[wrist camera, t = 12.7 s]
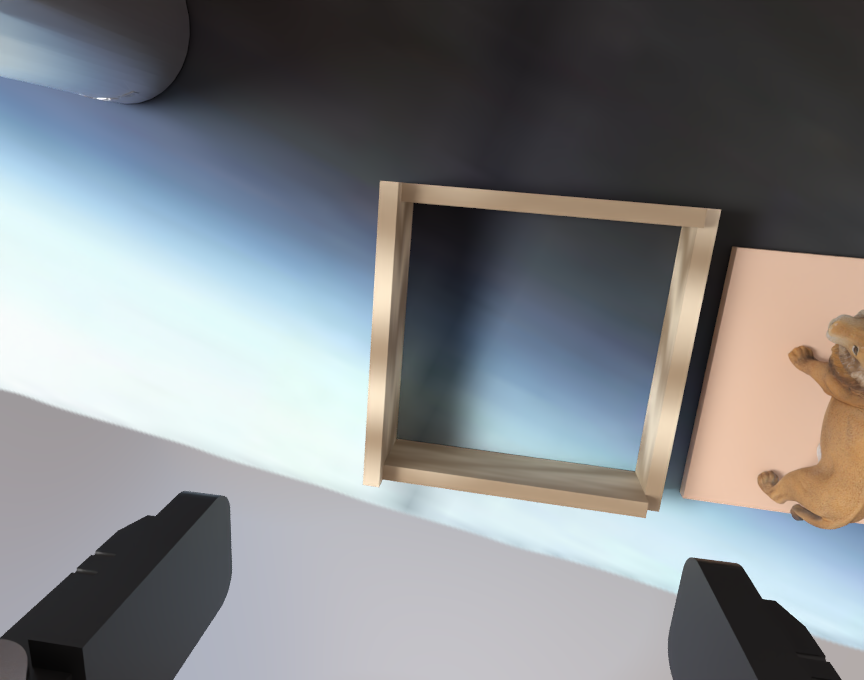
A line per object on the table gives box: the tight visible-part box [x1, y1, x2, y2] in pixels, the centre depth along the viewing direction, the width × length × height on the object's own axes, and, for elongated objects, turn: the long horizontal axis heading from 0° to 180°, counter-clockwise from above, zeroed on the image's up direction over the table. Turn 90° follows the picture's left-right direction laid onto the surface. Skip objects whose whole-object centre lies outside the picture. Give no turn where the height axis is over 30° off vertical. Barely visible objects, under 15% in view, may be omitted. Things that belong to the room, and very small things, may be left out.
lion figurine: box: [757, 309, 864, 529], centre depth 30 cm, size 15×5×9 cm, turn 3°
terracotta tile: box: [680, 246, 864, 524], centre depth 34 cm, size 16×12×1 cm
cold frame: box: [363, 181, 721, 518], centre depth 34 cm, size 18×18×5 cm
